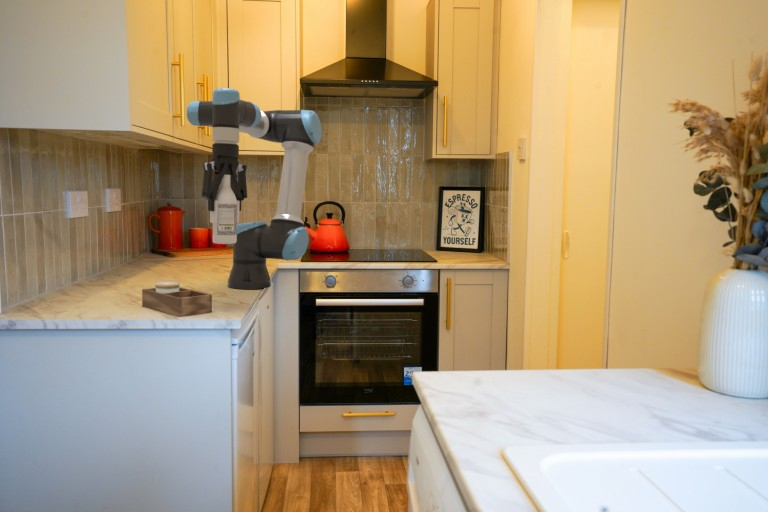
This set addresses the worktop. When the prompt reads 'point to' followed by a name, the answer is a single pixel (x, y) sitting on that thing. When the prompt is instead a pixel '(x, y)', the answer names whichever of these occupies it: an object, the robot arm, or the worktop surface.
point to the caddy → (177, 301)
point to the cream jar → (167, 286)
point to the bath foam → (225, 214)
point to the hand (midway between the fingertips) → (224, 222)
